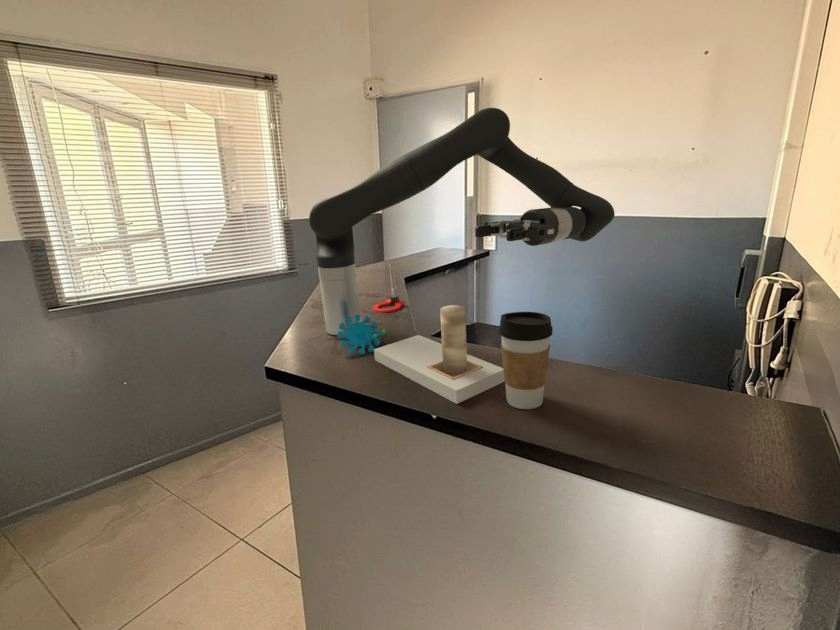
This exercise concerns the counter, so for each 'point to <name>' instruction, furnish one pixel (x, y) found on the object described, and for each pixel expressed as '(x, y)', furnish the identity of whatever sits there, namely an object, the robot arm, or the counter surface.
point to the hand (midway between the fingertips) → (491, 233)
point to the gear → (360, 334)
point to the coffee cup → (525, 356)
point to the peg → (454, 340)
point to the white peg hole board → (438, 368)
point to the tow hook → (394, 297)
